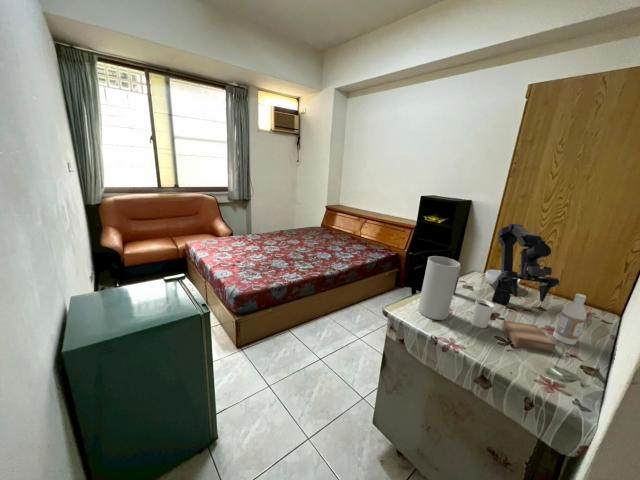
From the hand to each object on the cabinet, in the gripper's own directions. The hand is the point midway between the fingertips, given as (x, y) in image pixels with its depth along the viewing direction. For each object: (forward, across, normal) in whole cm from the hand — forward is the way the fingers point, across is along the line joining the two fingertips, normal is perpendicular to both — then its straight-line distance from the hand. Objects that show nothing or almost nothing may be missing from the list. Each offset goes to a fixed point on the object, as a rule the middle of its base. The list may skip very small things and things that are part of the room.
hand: (528, 299), depth 107 cm
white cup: (+14, -16, +5) cm, 22 cm away
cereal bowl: (-13, +7, +48) cm, 51 cm away
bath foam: (+13, +15, +6) cm, 21 cm away
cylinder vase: (+13, -35, +6) cm, 37 cm away
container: (-1, -23, +28) cm, 37 cm away
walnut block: (+16, -1, 0) cm, 16 cm away
